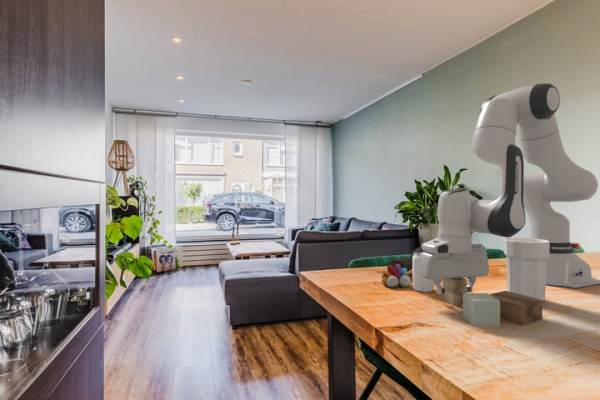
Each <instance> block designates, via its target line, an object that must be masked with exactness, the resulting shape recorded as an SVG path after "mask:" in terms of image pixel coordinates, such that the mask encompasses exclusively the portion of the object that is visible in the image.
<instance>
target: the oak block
mask: <svg viewBox="0 0 600 400" xmlns="http://www.w3.org/2000/svg"><path fill="white" fill-rule="evenodd" d="M467 282H468V279H467V278H449V279H442V287H443V288H445V294H442V301H443V302H445V303H448V304H449V305H452V306H458V305H459V306H462V305H463V293H468V292H467Z"/></svg>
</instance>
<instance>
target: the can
mask: <svg viewBox="0 0 600 400" xmlns="http://www.w3.org/2000/svg"><path fill="white" fill-rule="evenodd" d="M422 253H423V252H414V255H413V269H412V289H413V290H414V291H416V292H418V293H431V292H433V291H434V290H435V284H434V282H433V280H427V279H425V278H423V277H422V276H421V275H420V257H421V254H422Z"/></svg>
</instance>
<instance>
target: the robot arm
mask: <svg viewBox="0 0 600 400" xmlns="http://www.w3.org/2000/svg"><path fill="white" fill-rule="evenodd" d="M560 98H561V97H560V93H559V90H558V89H557V87H556V86H554V85H553V84H552V83H546V82H545V83H536V84H535V85H529V86H522V87H517V88H514V89H512V90H508V91H506V92H504V93H500V94H498V95H497V94H495V95H493V96H490V97H488V98H486V99H485V100H484V101H483V103H482V104H481V106H480V108H479V109H480V110H479V116H478V118H477V122H476V124H475V126H474V127H475V128H474V131H473V135H472V141H471V147H472V150H473V152H474V153H473V154H475V155H476V157H477V158H479V159H481V160H482V161H483V162H486V163H489V164H492V165H495V166H497V167H499V169H500V190H499V192H500V193H499V197H498V198H497V199H479V198H477V197H475V196H473V195H472V194H471V193H470V190H469V189H468V188H466V187H465V188H464V187H460V188H459V187H456V188H450V189H446V190H444V191H441V193H440V195H439V196H438V198H439V199H438V203H437V223H438V225H439V226H438V231H437V237H435V238H433V239H431V240H429V241H425V242H424V243H421V246H422V250H423V251H425V252H423V253H422V254H421V257H420V275H421V276H422V277H423V278H425V279H427V280H433V282H434V287H436V293H437V294H438V295H443V294H445V288H443V285H441V283H443V279H449V278H464V279H467V293H473V287H474V284H475V283H476V281H477V277H478V278H479V277H487V276H488V275H489V273H490V272H489V271H490V269H489V268H490V266H489V258H488V252H487V247H486V246H484V245H483V244H482V243H477V244H474V243H472V241H473V240H472V239H473V238H472V236H473V235H472V233H475V232H476V233H480V234H488V235H494V236H497V237H503V238H512V237H513V236H515V235H517V234H518V233H519V232H520V231H521V230H522V229H523V228H524V227H525V225H526V213H527V216H528V220H529V228H530V229H529V230H530V235H529V236H530V237H529V238H533V239H542V240H547V241H549V242H550V249H549V258H548V259H547V262H546V285H549V286H558V287H566V288H574V289H578V288H582V287H583V288H584V287H590V286H593V285H600V279H598V278H595V277H592V268H591V265H590V264H589V263H587V262H586V261H585V260H583V259H582V258H581V257H580V256H578V254H576V253H575V250H574V249H576V250H579V249H580V248H581V245H580V243H579V242H578V243H577V242H576V243H575V242H571V241H570V240H571V237H570V236H571V235H570V234H571V233H570V230H571V229H570V228H571V223H570V220H569V219H568V218H567V216H566V215H564V214H562V213H560V212H558V211H555V210H554V208H553V206H552V205H551V203H554V202H555V203H556V202H557V203H567V202H568V203H572V202H574V203H575V202H580V201H587V200H591V198H592V197H594V195H596V193H597V192H598V191H597V190H598V187H599V182H598V179H597V177H596V175H595V174H594V173H592V172H591V171H590V170H587V169H585V168H583V167H581V166H580V165H578V164H576V163H575V162H574V161H573V160H572V159H571V158H570V157H569V156H568V154H567V153H566V151H565V149H564V146H563V142H562V139H561V135H560V129H559V124H558V123H557V121H558V120H557V118H556V115H555V114H556V112H557V111H558V110H559V108H560V102H561V99H560ZM516 134H517V135H518V140H519V145H520V147H519V146H517V145H516ZM524 161H526V162H527V163H529V164H530V165H534V166H535V167H538V168H540V169H541V171H539V170H538V171H527V172H525V171H524V169H525V168H524V167H525V166H524V165H525V164H524Z"/></svg>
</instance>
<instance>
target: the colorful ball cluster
mask: <svg viewBox="0 0 600 400" xmlns="http://www.w3.org/2000/svg"><path fill="white" fill-rule="evenodd" d="M387 266H388V265H387ZM388 268H389V271H390V272H388V270H384V269H383V270H382V275H381V282H382V284H386V285H387V286H388V287H389V288H392V289H393V288H397V286H398V285H399V286H400V287H402V288H407V287H409V286H410V285H411V282H412V281H411V278H410V276H409V275H407V274H408V272H407V269H406V268H402V269H401V266H400V265H399V264H396V265H395V267H394V268H393V267H392V265H389V266H388Z"/></svg>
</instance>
